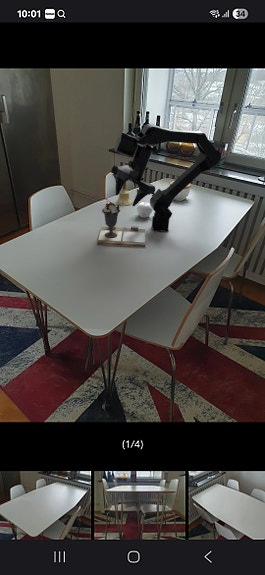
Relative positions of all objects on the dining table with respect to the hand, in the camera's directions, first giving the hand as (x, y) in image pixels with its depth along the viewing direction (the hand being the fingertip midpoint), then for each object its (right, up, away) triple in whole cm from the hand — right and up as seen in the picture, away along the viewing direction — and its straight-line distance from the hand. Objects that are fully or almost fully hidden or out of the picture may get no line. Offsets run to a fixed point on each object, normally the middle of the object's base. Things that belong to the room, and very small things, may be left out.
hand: (124, 200), depth 123 cm
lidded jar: (+27, +13, +42) cm, 52 cm away
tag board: (-1, -14, +1) cm, 14 cm away
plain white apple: (+8, -2, +20) cm, 22 cm away
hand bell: (-1, +8, +33) cm, 34 cm away
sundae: (-5, -14, 0) cm, 15 cm away
